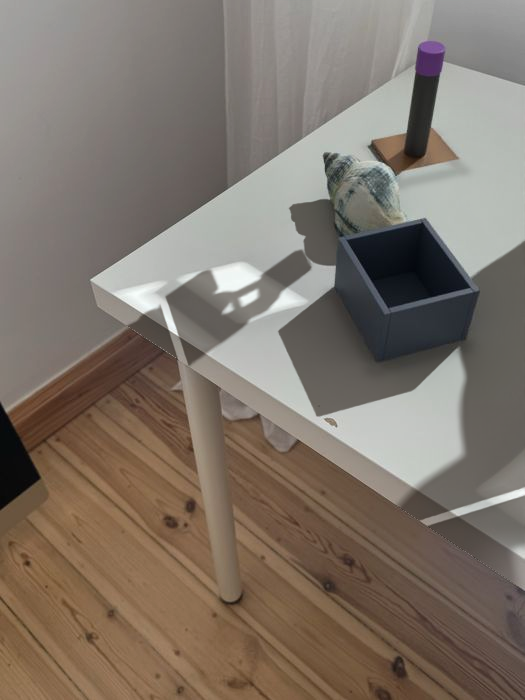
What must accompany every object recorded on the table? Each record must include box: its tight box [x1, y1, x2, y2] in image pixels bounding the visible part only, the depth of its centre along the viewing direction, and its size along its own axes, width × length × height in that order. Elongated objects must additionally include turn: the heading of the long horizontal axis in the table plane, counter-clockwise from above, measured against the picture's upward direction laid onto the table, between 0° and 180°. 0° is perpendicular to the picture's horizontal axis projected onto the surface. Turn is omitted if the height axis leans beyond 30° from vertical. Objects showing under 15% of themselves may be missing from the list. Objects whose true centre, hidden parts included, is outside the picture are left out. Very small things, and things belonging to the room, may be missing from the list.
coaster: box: [370, 127, 460, 174], centre depth 85 cm, size 8×8×1 cm
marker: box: [404, 40, 447, 158], centre depth 80 cm, size 3×3×12 cm
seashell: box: [322, 151, 409, 237], centre depth 75 cm, size 6×8×12 cm
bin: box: [333, 217, 481, 364], centre depth 66 cm, size 9×10×7 cm
